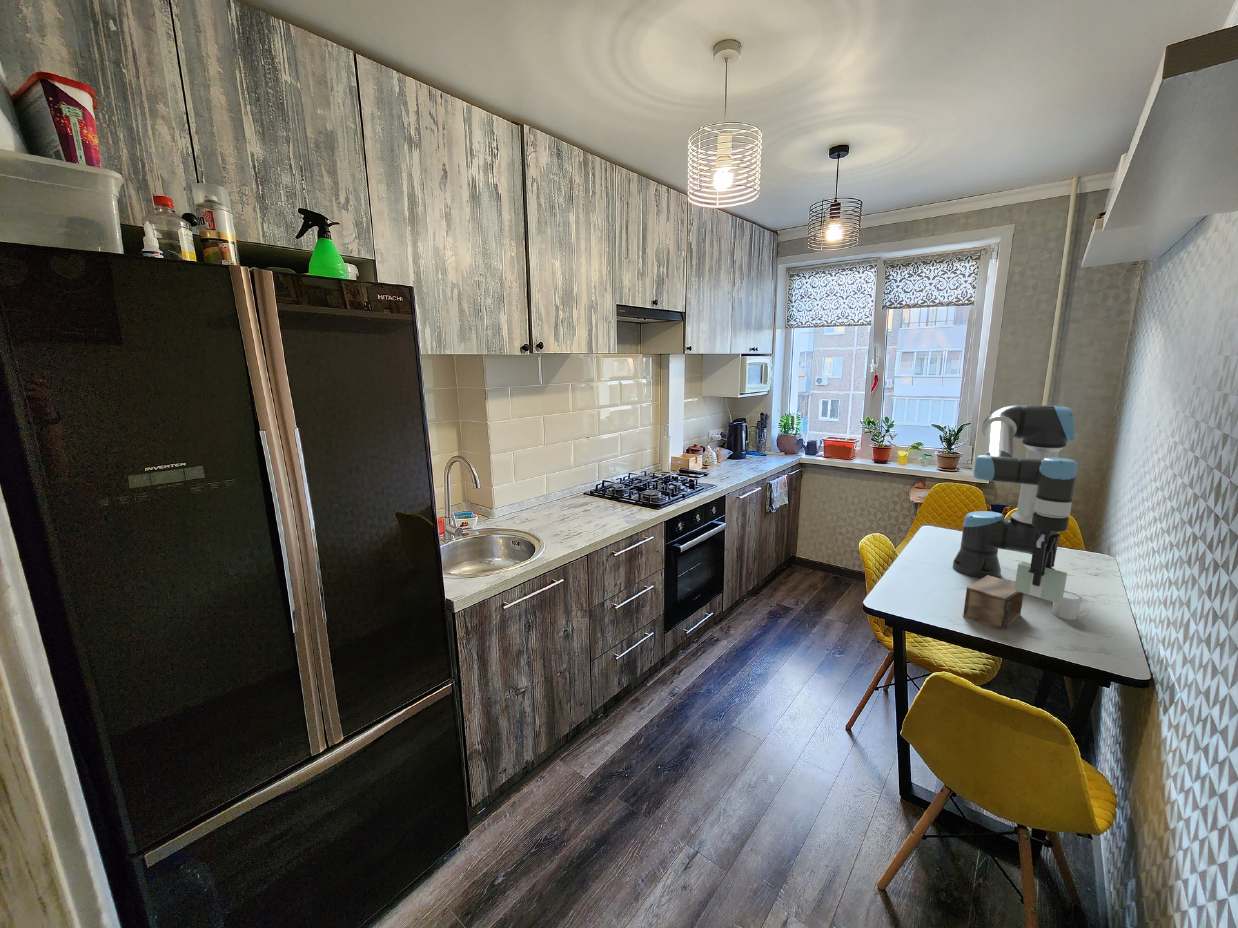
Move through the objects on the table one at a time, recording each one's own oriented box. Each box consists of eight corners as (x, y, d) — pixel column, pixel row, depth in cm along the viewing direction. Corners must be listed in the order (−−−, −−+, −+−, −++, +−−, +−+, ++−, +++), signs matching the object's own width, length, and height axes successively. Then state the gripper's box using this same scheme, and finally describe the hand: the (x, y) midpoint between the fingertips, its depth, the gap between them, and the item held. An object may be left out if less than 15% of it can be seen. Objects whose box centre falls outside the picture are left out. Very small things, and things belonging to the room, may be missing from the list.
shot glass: (1048, 615, 158) (1052, 594, 156) (1051, 608, 162) (1054, 588, 161) (1077, 623, 153) (1081, 602, 151) (1079, 615, 157) (1083, 595, 156)
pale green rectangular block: (1018, 587, 146) (1022, 561, 144) (1062, 599, 138) (1067, 572, 136) (1014, 590, 144) (1018, 564, 142) (1058, 603, 136) (1063, 575, 134)
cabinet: (962, 616, 157) (966, 587, 155) (983, 603, 166) (987, 575, 164) (1006, 631, 148) (1010, 600, 146) (1025, 616, 157) (1030, 587, 155)
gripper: (1044, 506, 144) (1031, 582, 149) (1023, 516, 135) (1010, 596, 139) (1078, 512, 138) (1064, 591, 142) (1058, 522, 129) (1044, 606, 133)
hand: (1037, 593), depth 141 cm, fingers closed on pale green rectangular block, 3 cm apart
